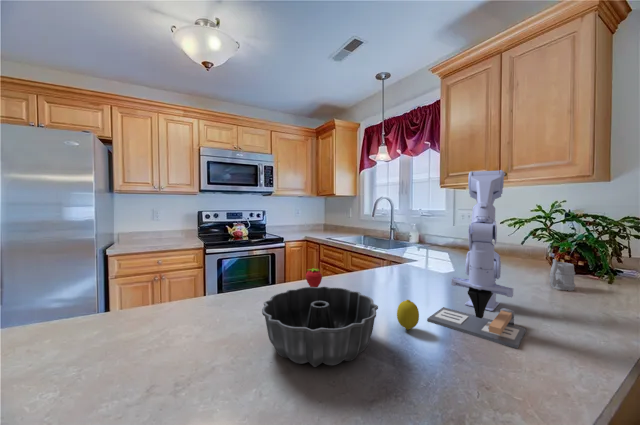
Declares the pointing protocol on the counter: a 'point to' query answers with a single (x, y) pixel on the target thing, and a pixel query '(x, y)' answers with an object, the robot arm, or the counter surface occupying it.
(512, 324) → the shiny grey curved piece
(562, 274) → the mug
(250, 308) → the counter surface
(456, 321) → the panel
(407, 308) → the lemon
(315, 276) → the strawberry
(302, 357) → the bundt pan
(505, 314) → the bar
